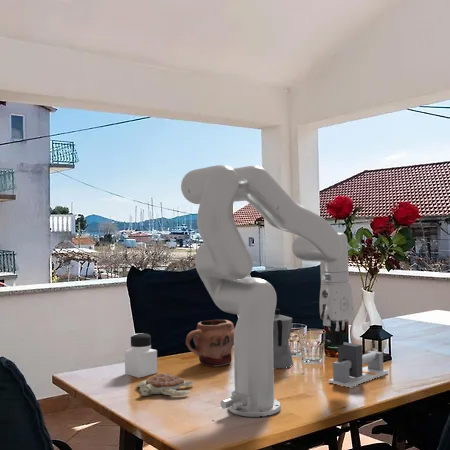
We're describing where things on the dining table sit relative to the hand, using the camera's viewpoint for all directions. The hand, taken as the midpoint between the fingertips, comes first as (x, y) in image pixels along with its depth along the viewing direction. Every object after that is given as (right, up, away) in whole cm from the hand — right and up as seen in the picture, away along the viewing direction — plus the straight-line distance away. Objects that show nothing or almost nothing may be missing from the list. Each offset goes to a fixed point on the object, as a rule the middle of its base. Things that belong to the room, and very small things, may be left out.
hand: (337, 344), depth 147 cm
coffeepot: (-14, -12, +23) cm, 29 cm away
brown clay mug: (-35, -13, +26) cm, 45 cm away
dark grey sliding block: (+5, -10, +4) cm, 11 cm away
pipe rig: (+8, -11, +7) cm, 16 cm away
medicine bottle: (-56, -13, +16) cm, 60 cm away
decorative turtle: (-47, -13, -2) cm, 49 cm away
